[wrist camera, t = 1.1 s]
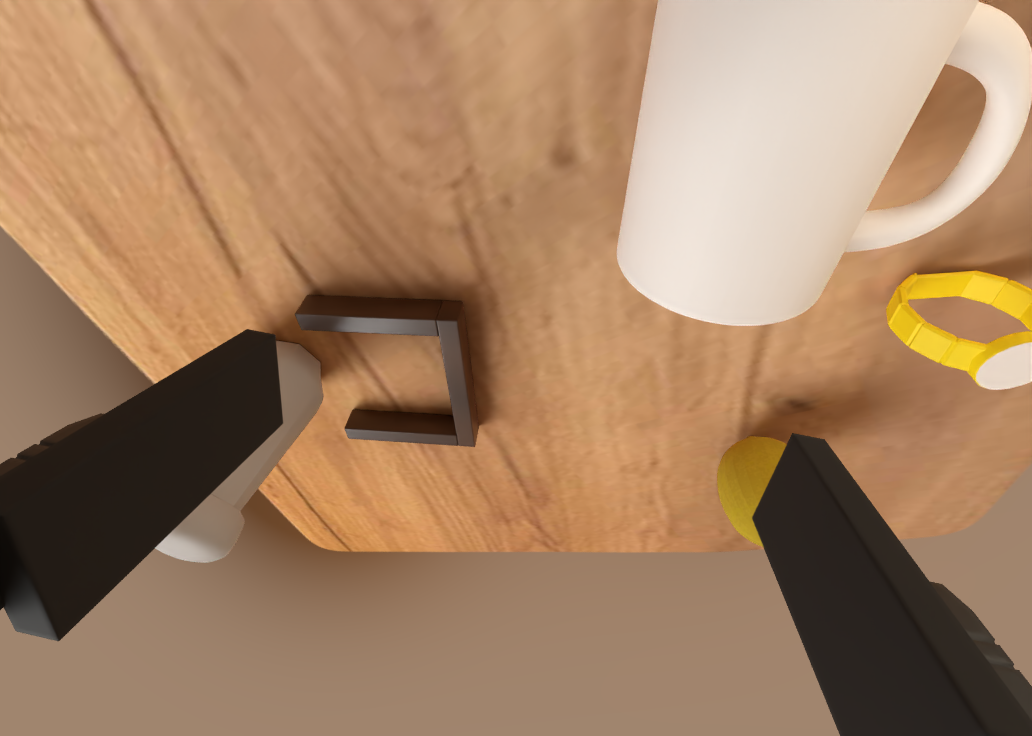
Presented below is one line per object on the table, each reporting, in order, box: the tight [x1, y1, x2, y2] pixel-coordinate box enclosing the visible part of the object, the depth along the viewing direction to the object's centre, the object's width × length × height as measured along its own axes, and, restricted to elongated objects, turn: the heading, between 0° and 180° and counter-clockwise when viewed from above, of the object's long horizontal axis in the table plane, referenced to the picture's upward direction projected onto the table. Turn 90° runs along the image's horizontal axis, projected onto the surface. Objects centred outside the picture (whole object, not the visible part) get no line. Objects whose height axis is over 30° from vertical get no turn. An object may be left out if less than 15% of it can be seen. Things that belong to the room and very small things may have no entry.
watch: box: [886, 270, 1032, 390], centre depth 22 cm, size 6×3×6 cm, turn 96°
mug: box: [617, 0, 1032, 326], centre depth 17 cm, size 12×10×8 cm
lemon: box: [717, 436, 787, 547], centre depth 31 cm, size 6×6×8 cm
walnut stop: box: [295, 295, 479, 447], centre depth 32 cm, size 11×9×2 cm
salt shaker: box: [155, 341, 323, 562], centre depth 28 cm, size 6×6×13 cm
